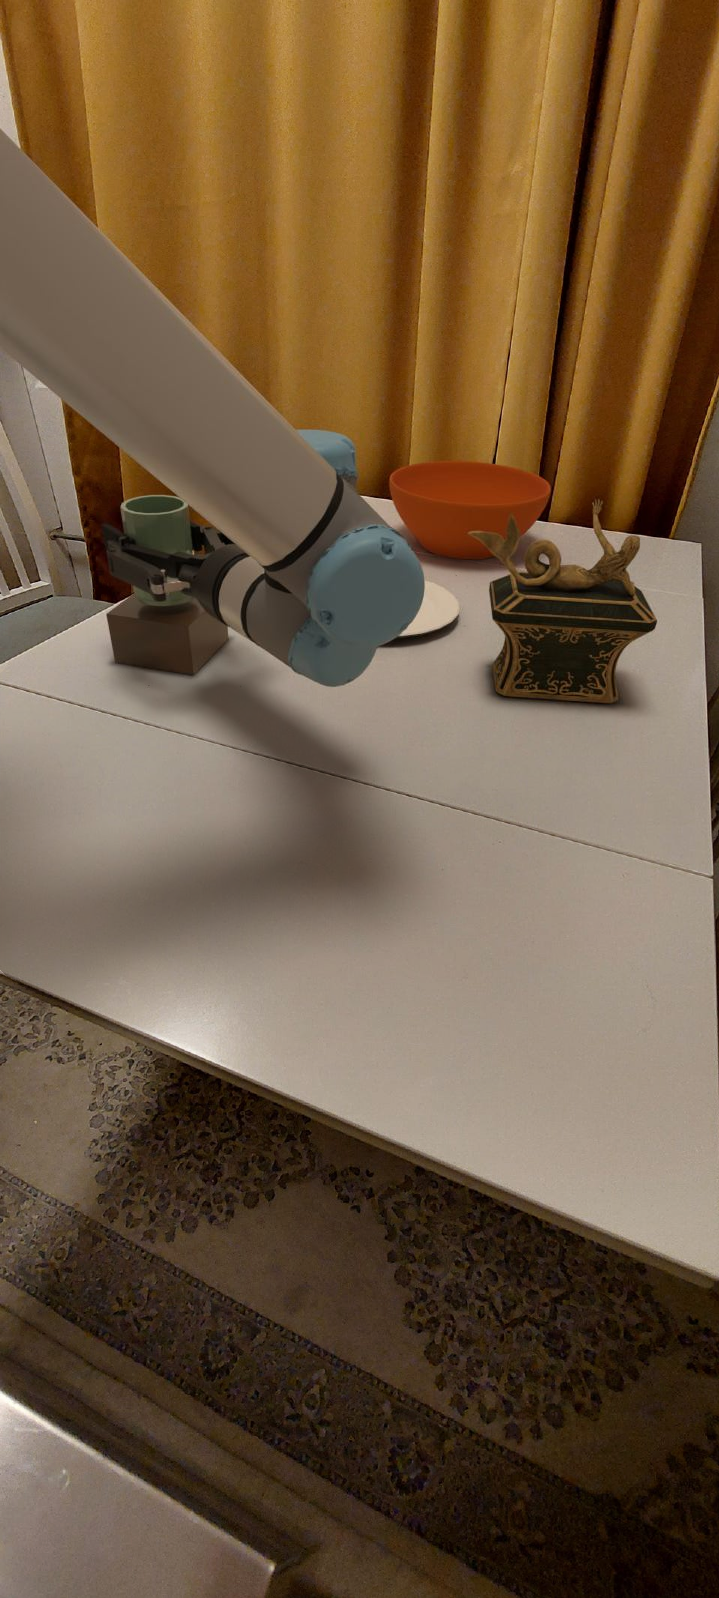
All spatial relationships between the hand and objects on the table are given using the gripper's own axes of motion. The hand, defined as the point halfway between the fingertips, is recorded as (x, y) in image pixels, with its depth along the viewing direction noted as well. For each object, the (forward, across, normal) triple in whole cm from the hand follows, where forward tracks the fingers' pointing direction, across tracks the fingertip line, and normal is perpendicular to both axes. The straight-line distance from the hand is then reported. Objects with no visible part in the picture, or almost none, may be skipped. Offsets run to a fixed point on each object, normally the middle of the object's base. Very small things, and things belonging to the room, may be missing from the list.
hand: (139, 529), depth 86 cm
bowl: (+2, +56, -13) cm, 58 cm away
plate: (-11, +28, -13) cm, 33 cm away
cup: (-5, 0, -6) cm, 8 cm away
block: (-5, 0, -13) cm, 14 cm away
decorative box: (-37, +30, -13) cm, 49 cm away
